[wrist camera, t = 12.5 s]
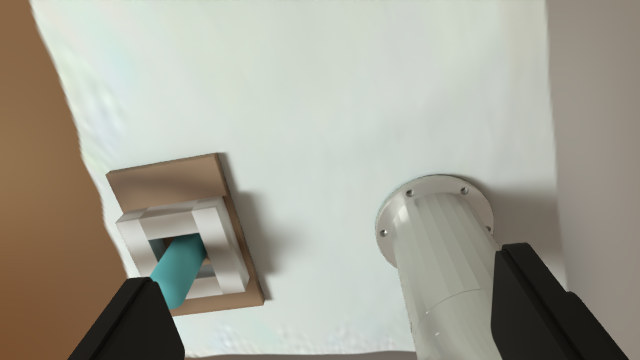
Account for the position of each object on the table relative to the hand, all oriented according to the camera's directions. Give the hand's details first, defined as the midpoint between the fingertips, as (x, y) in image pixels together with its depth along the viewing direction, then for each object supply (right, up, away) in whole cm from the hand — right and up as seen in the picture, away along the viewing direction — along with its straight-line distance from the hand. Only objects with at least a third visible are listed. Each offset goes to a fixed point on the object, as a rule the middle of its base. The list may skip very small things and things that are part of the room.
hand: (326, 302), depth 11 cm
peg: (-15, -4, +33) cm, 37 cm away
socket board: (-15, -4, +34) cm, 38 cm away
